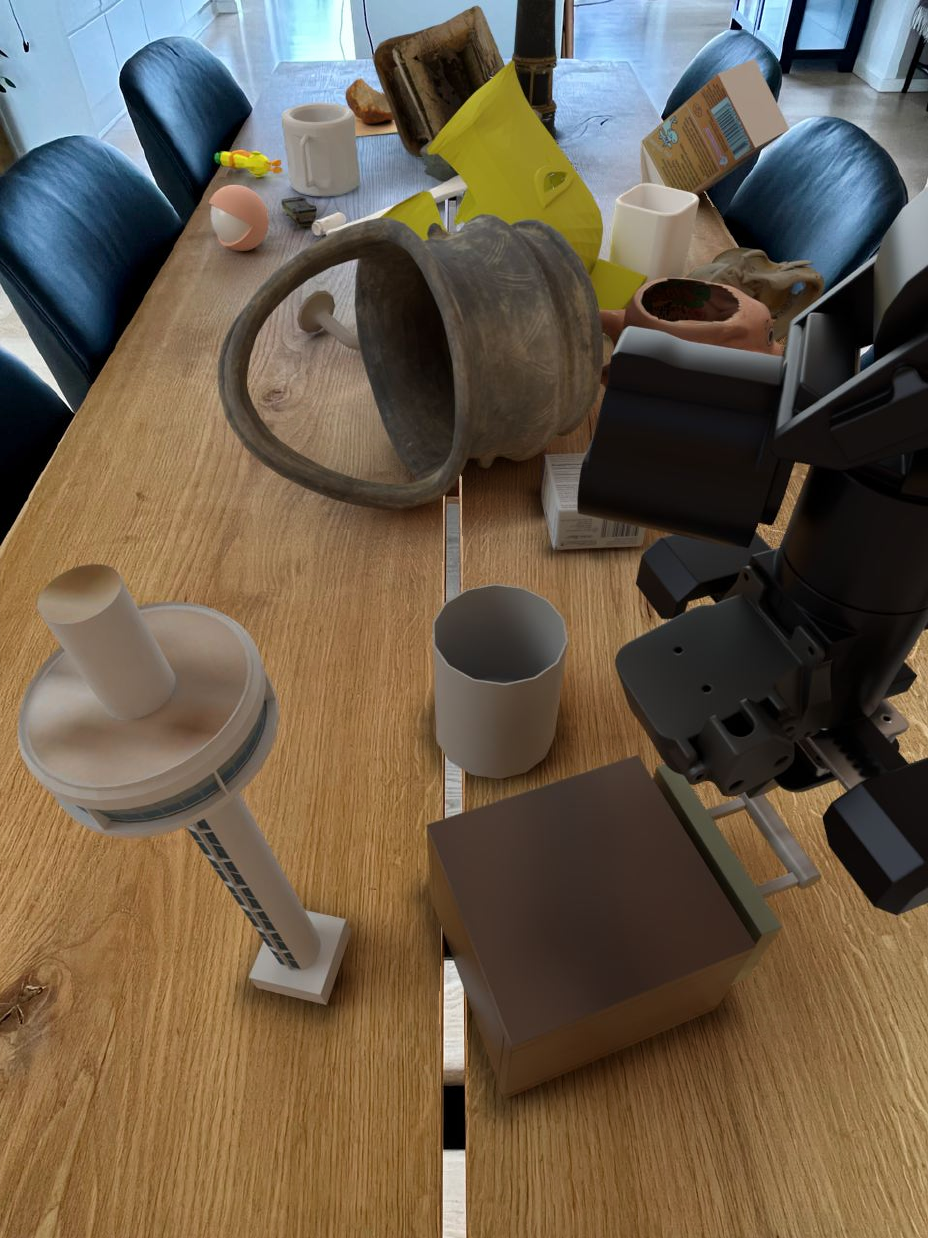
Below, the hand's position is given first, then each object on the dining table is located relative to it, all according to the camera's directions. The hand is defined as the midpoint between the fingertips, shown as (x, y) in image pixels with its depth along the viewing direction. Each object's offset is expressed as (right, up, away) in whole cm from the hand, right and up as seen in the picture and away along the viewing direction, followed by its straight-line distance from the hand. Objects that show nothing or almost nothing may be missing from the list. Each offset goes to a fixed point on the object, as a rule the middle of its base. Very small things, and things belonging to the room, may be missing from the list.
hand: (753, 790), depth 41 cm
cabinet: (-8, -11, +7) cm, 15 cm away
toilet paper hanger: (-22, +44, +60) cm, 77 cm away
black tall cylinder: (-3, +94, +105) cm, 141 cm away
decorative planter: (+5, +27, +43) cm, 51 cm away
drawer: (-4, -9, +7) cm, 12 cm away
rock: (-11, +79, +92) cm, 121 cm away
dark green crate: (-38, +68, +77) cm, 110 cm away
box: (-3, +16, +28) cm, 32 cm away
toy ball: (-44, +59, +72) cm, 103 cm away
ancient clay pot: (-7, +35, +35) cm, 50 cm away
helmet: (-19, +62, +49) cm, 82 cm away
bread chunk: (-29, +97, +112) cm, 151 cm away
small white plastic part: (-32, +65, +74) cm, 103 cm away
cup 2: (+6, +42, +56) cm, 70 cm away
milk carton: (+26, +79, +73) cm, 110 cm away
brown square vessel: (-15, +92, +88) cm, 128 cm away
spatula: (-23, +69, +78) cm, 107 cm away
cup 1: (-12, +1, +17) cm, 21 cm away
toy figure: (-43, +79, +88) cm, 126 cm away
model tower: (-23, -11, +6) cm, 26 cm away
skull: (+19, +40, +45) cm, 64 cm away
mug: (-36, +75, +87) cm, 120 cm away
